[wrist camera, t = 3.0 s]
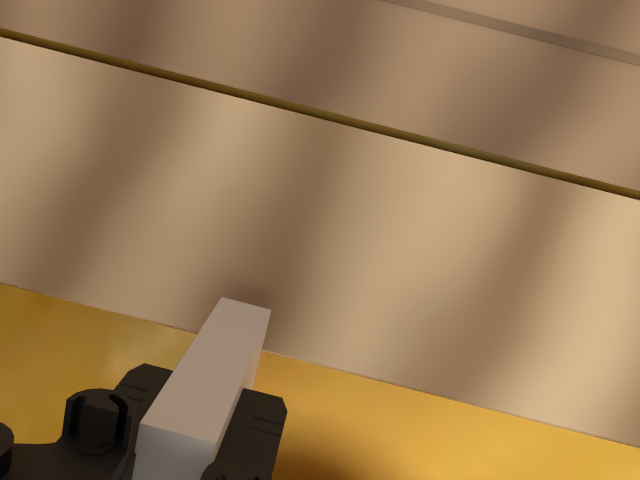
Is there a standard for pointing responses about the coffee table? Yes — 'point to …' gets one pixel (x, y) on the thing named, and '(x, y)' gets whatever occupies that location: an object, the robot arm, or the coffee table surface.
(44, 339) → the coffee table surface
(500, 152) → the laid board
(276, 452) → the robot arm
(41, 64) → the plank
